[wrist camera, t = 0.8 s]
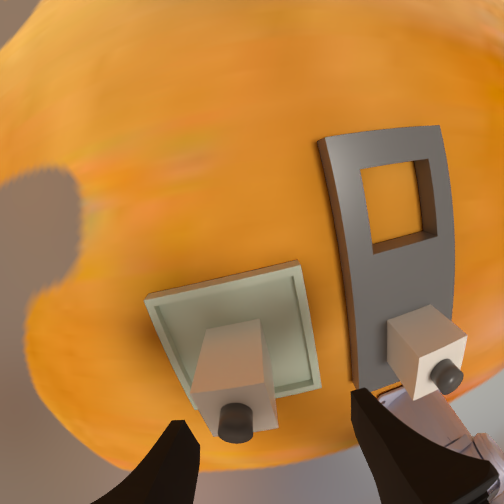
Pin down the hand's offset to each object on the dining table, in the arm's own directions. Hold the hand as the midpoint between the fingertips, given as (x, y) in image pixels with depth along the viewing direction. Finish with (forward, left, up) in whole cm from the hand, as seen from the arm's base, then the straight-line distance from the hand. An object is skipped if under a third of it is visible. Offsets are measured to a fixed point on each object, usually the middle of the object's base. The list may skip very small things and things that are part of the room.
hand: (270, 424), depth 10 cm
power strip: (+1, -11, -10) cm, 15 cm away
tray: (-2, +2, -10) cm, 11 cm away
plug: (-2, +2, -10) cm, 10 cm away
